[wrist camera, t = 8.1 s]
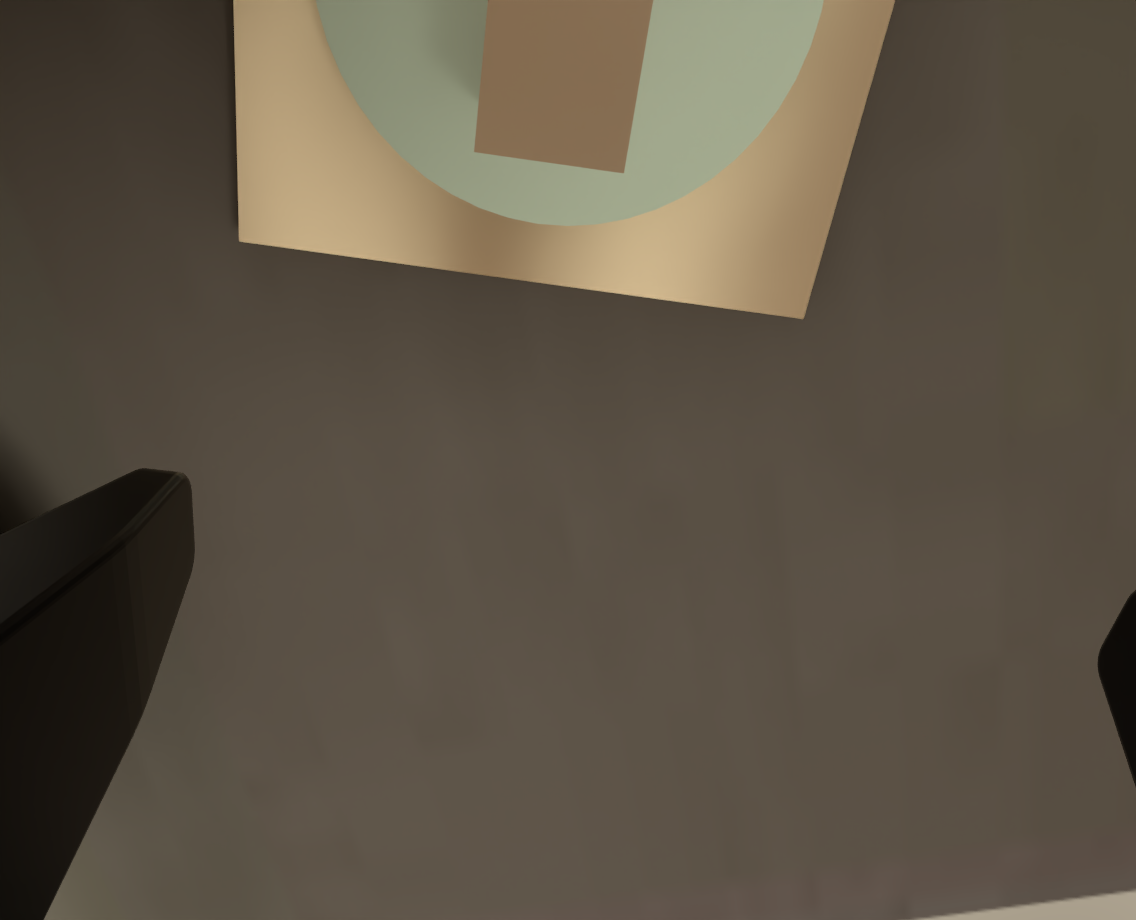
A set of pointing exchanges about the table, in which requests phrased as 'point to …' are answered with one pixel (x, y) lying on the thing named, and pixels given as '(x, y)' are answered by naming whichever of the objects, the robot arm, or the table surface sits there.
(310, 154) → the mat
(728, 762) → the table surface
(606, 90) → the cover
